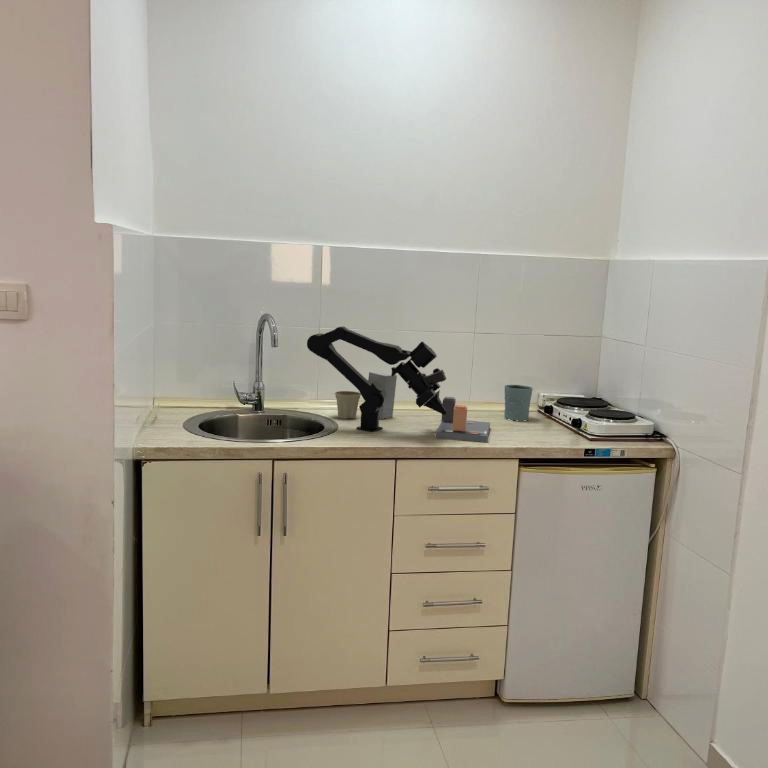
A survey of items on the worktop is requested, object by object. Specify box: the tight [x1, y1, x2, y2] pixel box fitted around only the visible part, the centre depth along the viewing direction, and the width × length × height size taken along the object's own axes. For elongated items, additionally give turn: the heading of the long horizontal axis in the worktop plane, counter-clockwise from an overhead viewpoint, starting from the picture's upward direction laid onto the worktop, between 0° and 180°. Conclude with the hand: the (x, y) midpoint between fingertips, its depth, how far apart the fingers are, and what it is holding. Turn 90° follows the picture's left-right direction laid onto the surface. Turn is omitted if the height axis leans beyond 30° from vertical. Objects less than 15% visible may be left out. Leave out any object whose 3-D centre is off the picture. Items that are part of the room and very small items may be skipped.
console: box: [435, 419, 491, 443], centre depth 252 cm, size 16×22×2 cm
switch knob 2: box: [452, 404, 468, 431], centre depth 245 cm, size 4×4×8 cm
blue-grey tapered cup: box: [503, 384, 533, 422], centre depth 279 cm, size 10×10×12 cm
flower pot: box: [334, 390, 362, 420], centre depth 267 cm, size 9×9×9 cm
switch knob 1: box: [441, 396, 457, 421], centre depth 259 cm, size 4×4×8 cm
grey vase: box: [367, 370, 398, 420], centre depth 270 cm, size 8×7×16 cm
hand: (445, 413), depth 245 cm, fingers closed
